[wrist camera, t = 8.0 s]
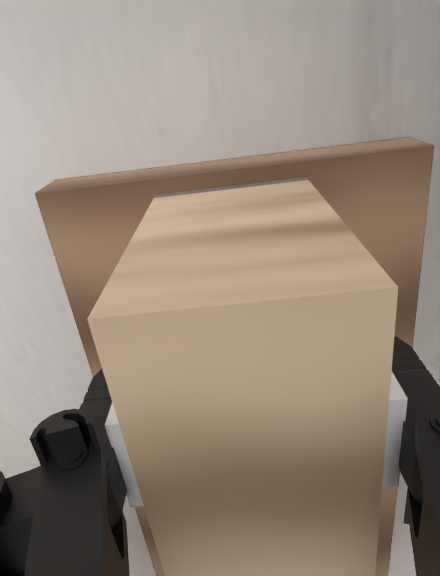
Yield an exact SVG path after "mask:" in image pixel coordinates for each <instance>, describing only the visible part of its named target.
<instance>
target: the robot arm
mask: <svg viewBox="0 0 440 576" xmlns="http://www.w3.org/2000/svg"><path fill="white" fill-rule="evenodd" d="M30 441H31V443H32V446H33V448H34V450H35V452H36V455H37V457H38V459H39V461H40V464H41V466H39V467H37V468H35V469H32V470H30V471H27V472H24V473H21V474H18V475H15V476H12V477H10V478H7V479H5V477H4V475H3V473H2V472H1V471H0V576H129V560H128V543H127V527H126V521H125V517H124V514H123V511H122V510H123V505H124V501H125V496H126V493H127V496H128V499H129V503H130V506H131V507H135V506H144V505H143V502H142V498H141V495H140V492H139V488H138V485H137V482H136V478H135V475H134V472H133V469H132V465H131V462H130V459H129V455H128V452H127V449H126V445H125V442H124V439H123V436H122V432H121V429H120V426H119V422H118V419H117V416H116V412H115V409H114V406H113V403H112V399H111V396H110V393H109V389H108V386H107V383H106V379H105V376H104V373H103V370H102V369H101V370H100V371H99V372H98V373H97V374H96V375H95V376H94V377H93V379H92V381H91V383H90V386H89V388H88V392H87V393H86V395H85V397H84V400H83V403H82V405H81V407H80V409H79V410H78V409H71V410H63V411H61V412H58V413H56V414H53V415H51V416H50V417H48V418H46V419H45V420H43V421H42V422H41V423H40V424H39V425H38V426H37V427H36V428H35V429H34V431H33V433H32V435H31V437H30ZM400 471H401V473H402V475H403V478H404V480H405V482H406V484H407V486H408V490H407V499H406V507H405V515H404V523H406V524H409V525H410V532H411V540H412V547H413V554H414V561H415V568H416V575H417V576H440V387H439V385H438V384H437V383H436V381H435V380H434V378H433V377H432V375H431V374H430V373H429V371H428V370H426V367H425V365H424V364H423V363H422V361H421V360H419V357H418V355H417V354H416V353H415V351H414V350H413V348H412V347H411V346H410V345H409V344H407V343H405V342H404V341H402V340H401V339H399V338H398V337H394V347H393V359H392V372H391V384H390V397H389V409H388V422H387V434H386V446H385V459H384V471H383V484H382V487H394V486H398V485H399V475H400Z"/></svg>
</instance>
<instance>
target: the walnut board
mask: <svg viewBox="0 0 440 576" xmlns="http://www.w3.org/2000/svg"><path fill="white" fill-rule="evenodd" d="M433 150H434V145H431V144H428V143H425V142H422V141H419V140H416V139H413V138H410V137H406V138H398V139H389V140H381V141H373V142H364V143H356V144H348V145H340V146H331V147H323V148H315V149H306V150H298V151H290V152H282V153H273V154H265V155H257V156H248V157H240V158H232V159H224V160H215V161H207V162H199V163H190V164H182V165H174V166H166V167H157V168H149V169H141V170H132V171H124V172H116V173H108V174H99V175H91V176H83V177H74V178H66V179H58V180H55V181H53V182H51V183H50V184H48V185H47V186H45V187H44V188H42V189H41V190H39V191H37V192H36V193H35V196H36V199H37V202H38V205H39V208H40V211H41V215H42V218H43V221H44V224H45V227H46V230H47V233H48V237H49V240H50V243H51V246H52V249H53V252H54V255H55V258H56V262H57V265H58V268H59V271H60V274H61V277H62V280H63V284H64V287H65V290H66V293H67V296H68V299H69V302H70V306H71V309H72V312H73V315H74V318H75V321H76V324H77V328H78V331H79V334H80V337H81V340H82V343H83V346H84V349H85V353H86V356H87V359H88V362H89V365H90V368H91V371H92V375H93V377H94V376H95V375H96V374H97V373H98V372H99V371H100V370H101V369H102V366H101V363H100V360H99V356H98V353H97V350H96V346H95V343H94V340H93V337H92V333H91V330H90V327H89V323H88V320H87V319H88V317H89V315H90V313H91V311H92V309H93V308H94V306H95V304H96V302H97V300H98V299H99V297H100V295H101V293H102V291H103V289H104V288H105V286H106V284H107V282H108V280H109V279H110V277H111V275H112V273H113V271H114V269H115V268H116V266H117V264H118V262H119V260H120V259H121V257H122V255H123V253H124V251H125V249H126V248H127V246H128V244H129V242H130V240H131V239H132V237H133V235H134V233H135V231H136V229H137V228H138V226H139V224H140V222H141V220H142V219H143V217H144V215H145V213H146V211H147V209H148V208H149V206H150V204H151V202H152V200H153V199H154V197H155V195H160V194H168V193H177V192H185V191H194V190H202V189H211V188H219V187H228V186H236V185H245V184H253V183H262V182H270V181H279V180H287V179H296V178H304V177H307V179H308V180H309V181H310V182H311V183H312V185H313V186H314V187H315V188H316V189H317V191H318V192H319V193H320V194H321V195H322V197H323V198H324V199H325V200H326V201H327V203H328V204H329V205H330V206H331V207H332V209H333V210H334V211H335V212H336V213H337V215H338V216H339V217H340V218H341V219H342V220H343V222H344V223H345V224H346V225H347V226H348V228H349V229H350V230H351V231H352V232H353V234H354V235H355V236H356V237H357V238H358V240H359V241H360V242H361V243H362V244H363V246H364V247H365V248H366V249H367V250H368V252H369V253H370V254H371V255H372V256H373V258H374V259H375V260H376V261H377V262H378V264H379V265H380V266H381V267H382V268H383V270H384V271H385V272H386V273H387V274H388V276H389V277H390V278H391V279H392V280H393V281H394V283H395V284H396V285H397V286H398V297H397V309H396V322H395V334H394V337H398V338H399V339H401V340H402V341H404V342H405V343H407V344H409V345H410V346H411V347H412V346H413V337H414V328H415V318H416V309H417V300H418V290H419V281H420V272H421V262H422V253H423V244H424V234H425V225H426V216H427V206H428V197H429V188H430V178H431V169H432V160H433ZM396 496H397V486H394V487H382V496H381V509H380V521H379V534H378V546H377V559H376V571H375V576H388V570H389V561H390V552H391V542H392V533H393V524H394V514H395V505H396ZM135 509H136V513H137V516H138V519H139V522H140V525H141V528H142V531H143V535H144V538H145V541H146V544H147V547H148V550H149V553H150V557H151V560H152V563H153V566H154V569H155V572H156V575H157V576H165V574H164V571H163V568H162V564H161V561H160V558H159V554H158V551H157V548H156V545H155V541H154V538H153V535H152V531H151V528H150V525H149V521H148V518H147V515H146V512H145V508H144V506H135Z"/></svg>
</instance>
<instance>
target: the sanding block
mask: <svg viewBox="0 0 440 576" xmlns="http://www.w3.org/2000/svg"><path fill="white" fill-rule="evenodd" d="M397 297H398V286H397V285H396V284H395V283H394V281H393V280H392V279H391V278H390V277H389V276H388V274H387V273H386V272H385V271H384V270H383V268H382V267H381V266H380V265H379V264H378V262H377V261H376V260H375V259H374V258H373V256H372V255H371V254H370V253H369V252H368V250H367V249H366V248H365V247H364V246H363V244H362V243H361V242H360V241H359V240H358V238H357V237H356V236H355V235H354V234H353V232H352V231H351V230H350V229H349V228H348V226H347V225H346V224H345V223H344V222H343V220H342V219H341V218H340V217H339V216H338V215H337V213H336V212H335V211H334V210H333V209H332V207H331V206H330V205H329V204H328V203H327V201H326V200H325V199H324V198H323V197H322V195H321V194H320V193H319V192H318V191H317V189H316V188H315V187H314V186H313V185H312V183H311V182H310V181H309V180H308V179H307V177H304V178H296V179H287V180H279V181H270V182H262V183H253V184H245V185H236V186H228V187H219V188H211V189H202V190H194V191H185V192H177V193H168V194H160V195H155V197H154V199H153V200H152V202H151V204H150V206H149V208H148V209H147V211H146V213H145V215H144V217H143V219H142V220H141V222H140V224H139V226H138V228H137V229H136V231H135V233H134V235H133V237H132V239H131V240H130V242H129V244H128V246H127V248H126V249H125V251H124V253H123V255H122V257H121V259H120V260H119V262H118V264H117V266H116V268H115V269H114V271H113V273H112V275H111V277H110V279H109V280H108V282H107V284H106V286H105V288H104V289H103V291H102V293H101V295H100V297H99V299H98V300H97V302H96V304H95V306H94V308H93V309H92V311H91V313H90V315H89V317H88V319H87V320H88V323H89V327H90V330H91V333H92V337H93V340H94V343H95V346H96V350H97V353H98V356H99V360H100V363H101V366H102V370H103V373H104V376H105V379H106V383H107V386H108V389H109V393H110V396H111V399H112V403H113V406H114V409H115V412H116V416H117V419H118V422H119V426H120V429H121V432H122V436H123V439H124V442H125V445H126V449H127V452H128V455H129V459H130V462H131V465H132V469H133V472H134V475H135V478H136V482H137V485H138V488H139V492H140V495H141V498H142V502H143V505H144V508H145V512H146V515H147V518H148V521H149V525H150V528H151V531H152V535H153V538H154V541H155V545H156V548H157V551H158V554H159V558H160V561H161V564H162V568H163V571H164V574H165V576H375V571H376V559H377V546H378V534H379V521H380V509H381V496H382V484H383V471H384V459H385V446H386V434H387V422H388V409H389V397H390V384H391V372H392V359H393V347H394V334H395V322H396V309H397Z"/></svg>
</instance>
